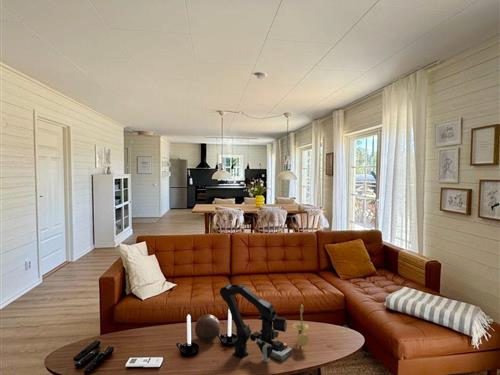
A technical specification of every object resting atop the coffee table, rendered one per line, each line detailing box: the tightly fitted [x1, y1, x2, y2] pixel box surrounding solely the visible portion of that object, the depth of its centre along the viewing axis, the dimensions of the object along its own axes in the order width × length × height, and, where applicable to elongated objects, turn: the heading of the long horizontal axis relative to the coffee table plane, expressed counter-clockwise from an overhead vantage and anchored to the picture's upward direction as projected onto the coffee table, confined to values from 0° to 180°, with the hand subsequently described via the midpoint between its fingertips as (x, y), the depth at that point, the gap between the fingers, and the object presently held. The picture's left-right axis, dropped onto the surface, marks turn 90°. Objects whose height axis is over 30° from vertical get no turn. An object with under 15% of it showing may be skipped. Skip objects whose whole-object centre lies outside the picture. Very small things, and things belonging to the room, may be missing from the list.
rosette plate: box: [270, 341, 293, 362], centre depth 173 cm, size 10×10×4 cm
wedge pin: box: [261, 343, 271, 363], centre depth 166 cm, size 3×3×8 cm
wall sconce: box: [292, 304, 309, 347], centre depth 182 cm, size 14×10×25 cm
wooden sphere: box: [194, 314, 221, 343], centre depth 186 cm, size 15×15×15 cm
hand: (266, 356), depth 166 cm, fingers closed on wedge pin, 3 cm apart
